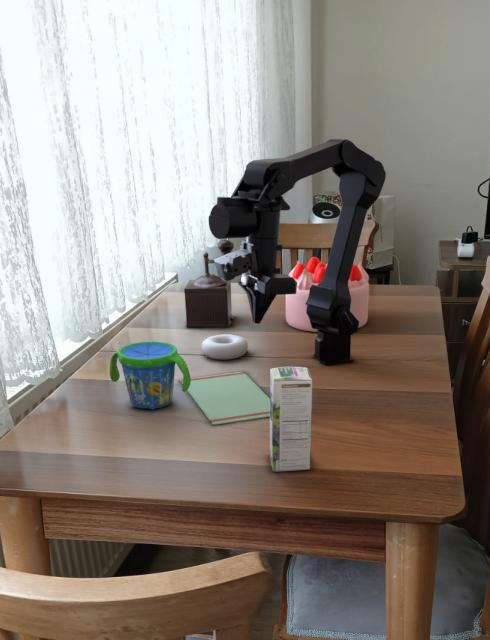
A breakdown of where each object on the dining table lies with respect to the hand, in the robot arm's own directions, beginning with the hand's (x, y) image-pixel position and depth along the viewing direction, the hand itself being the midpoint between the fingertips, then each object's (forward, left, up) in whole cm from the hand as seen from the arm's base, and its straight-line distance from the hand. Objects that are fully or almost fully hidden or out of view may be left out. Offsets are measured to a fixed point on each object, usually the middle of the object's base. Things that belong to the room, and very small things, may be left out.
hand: (256, 323), depth 145 cm
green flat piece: (+7, +5, -12) cm, 15 cm away
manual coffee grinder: (-4, -47, -12) cm, 49 cm away
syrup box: (+7, +36, -12) cm, 38 cm away
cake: (-29, -34, -12) cm, 47 cm away
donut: (+1, -19, -12) cm, 23 cm away
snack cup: (+22, +3, -12) cm, 25 cm away
